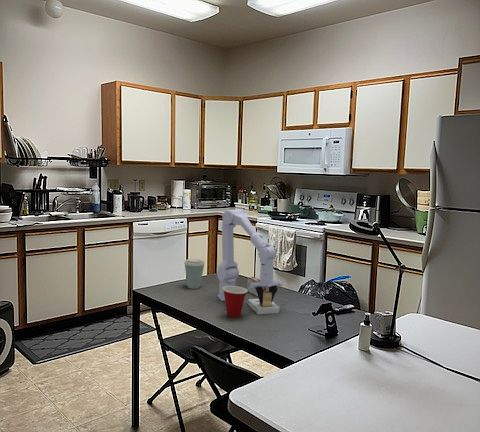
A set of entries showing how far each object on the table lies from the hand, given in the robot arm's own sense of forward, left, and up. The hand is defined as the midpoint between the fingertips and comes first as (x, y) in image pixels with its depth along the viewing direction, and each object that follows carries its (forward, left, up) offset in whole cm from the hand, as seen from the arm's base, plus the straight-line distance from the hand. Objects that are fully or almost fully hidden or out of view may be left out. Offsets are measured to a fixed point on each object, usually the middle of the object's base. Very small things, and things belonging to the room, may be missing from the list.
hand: (265, 302), depth 196 cm
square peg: (0, 0, -2) cm, 2 cm away
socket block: (-3, 0, -4) cm, 5 cm away
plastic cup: (+3, -15, -4) cm, 16 cm away
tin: (-24, +4, -4) cm, 25 cm away
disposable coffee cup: (-44, -24, -4) cm, 50 cm away
